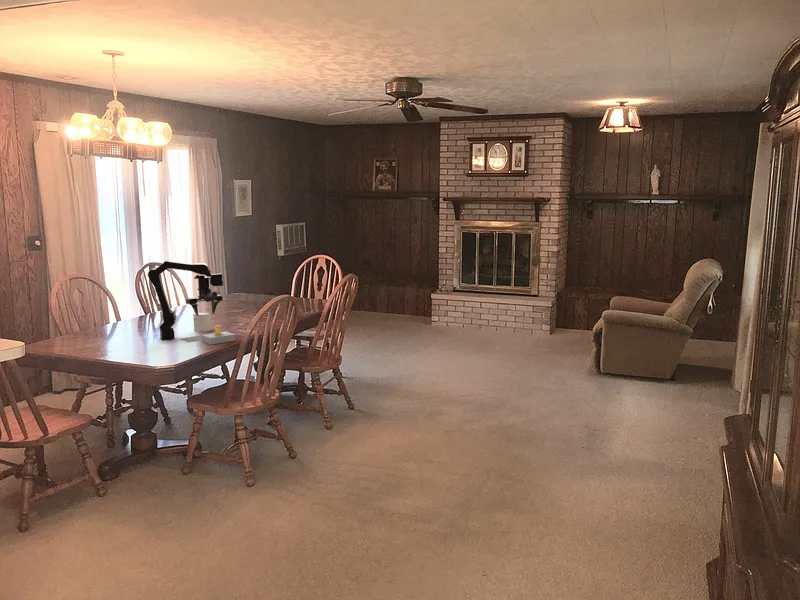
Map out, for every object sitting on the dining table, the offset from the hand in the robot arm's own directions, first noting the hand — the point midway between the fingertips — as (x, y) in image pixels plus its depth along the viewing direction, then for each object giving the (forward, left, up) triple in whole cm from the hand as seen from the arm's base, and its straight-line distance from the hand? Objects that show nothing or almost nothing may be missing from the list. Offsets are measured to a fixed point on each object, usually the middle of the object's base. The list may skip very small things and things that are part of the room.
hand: (205, 314), depth 362 cm
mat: (-6, 0, -13) cm, 14 cm away
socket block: (+1, -13, -13) cm, 18 cm away
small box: (+6, +18, -13) cm, 23 cm away
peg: (+1, -13, -13) cm, 18 cm away
